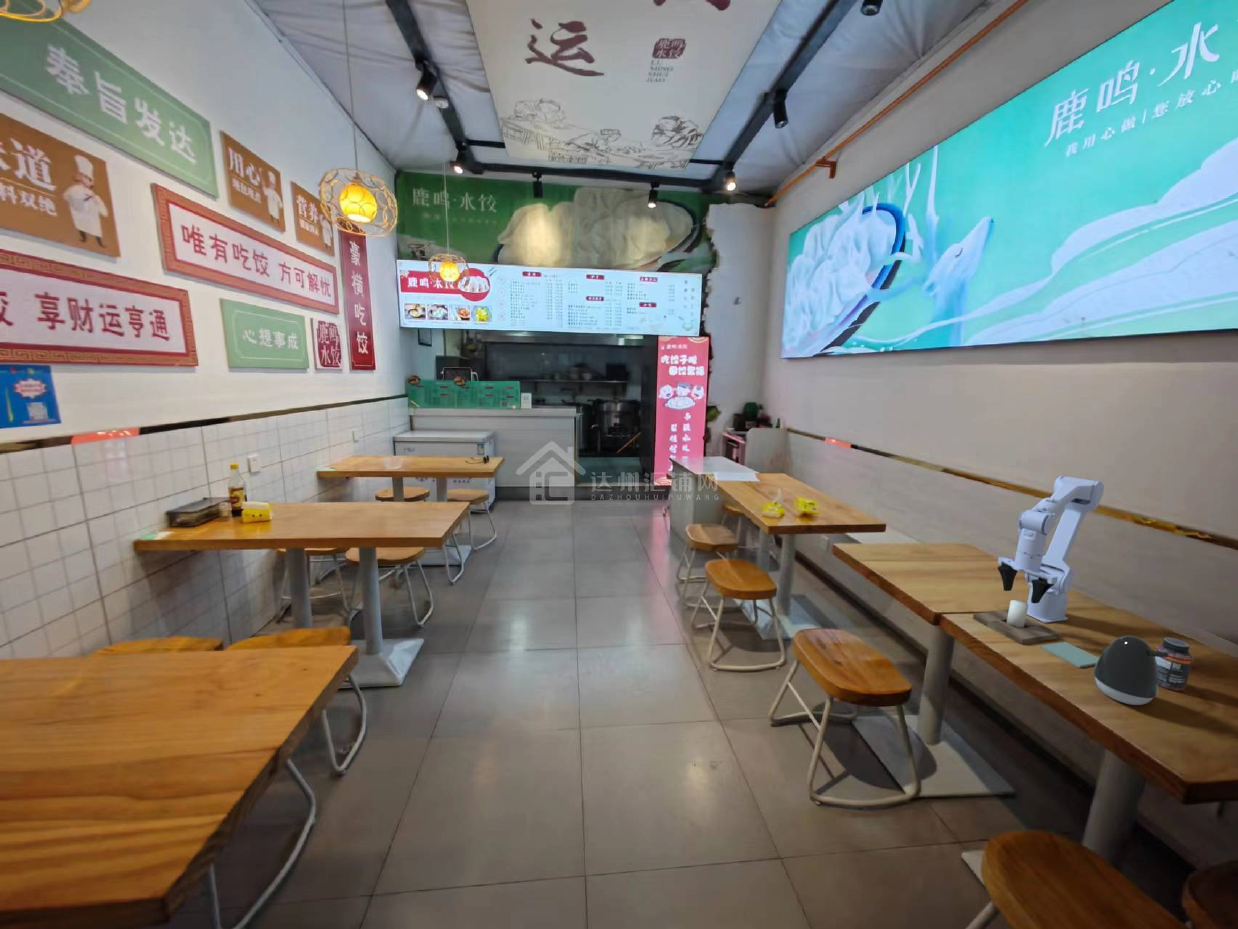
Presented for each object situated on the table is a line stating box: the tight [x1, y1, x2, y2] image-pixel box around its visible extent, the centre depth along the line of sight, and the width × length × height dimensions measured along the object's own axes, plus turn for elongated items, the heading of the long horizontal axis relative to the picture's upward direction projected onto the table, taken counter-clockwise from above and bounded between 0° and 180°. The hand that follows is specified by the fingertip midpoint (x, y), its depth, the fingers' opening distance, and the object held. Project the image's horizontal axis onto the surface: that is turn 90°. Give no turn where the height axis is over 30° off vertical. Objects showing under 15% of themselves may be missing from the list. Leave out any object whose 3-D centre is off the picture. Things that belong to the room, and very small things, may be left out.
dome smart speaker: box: [1092, 635, 1169, 706], centre depth 108 cm, size 10×10×15 cm
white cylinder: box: [1006, 599, 1028, 629], centre depth 138 cm, size 4×4×8 cm
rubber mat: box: [1040, 641, 1100, 669], centre depth 126 cm, size 9×9×1 cm
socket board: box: [972, 609, 1061, 645], centre depth 139 cm, size 14×14×2 cm
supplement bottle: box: [1154, 637, 1194, 692], centre depth 114 cm, size 6×6×11 cm
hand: (1020, 596), depth 137 cm, fingers open, 7 cm apart
